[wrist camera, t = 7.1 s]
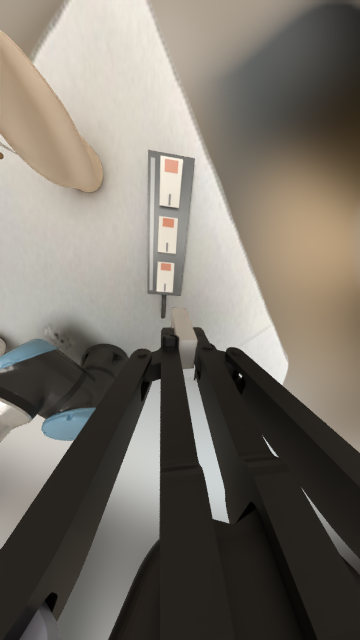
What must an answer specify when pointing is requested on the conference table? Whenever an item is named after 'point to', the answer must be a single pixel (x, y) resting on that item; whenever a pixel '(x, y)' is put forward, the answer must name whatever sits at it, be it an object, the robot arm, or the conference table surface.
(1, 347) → the vase
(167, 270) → the rocker
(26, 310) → the conference table surface
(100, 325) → the conference table surface
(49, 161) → the water bottle
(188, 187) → the power strip
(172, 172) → the rocker
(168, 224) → the rocker
